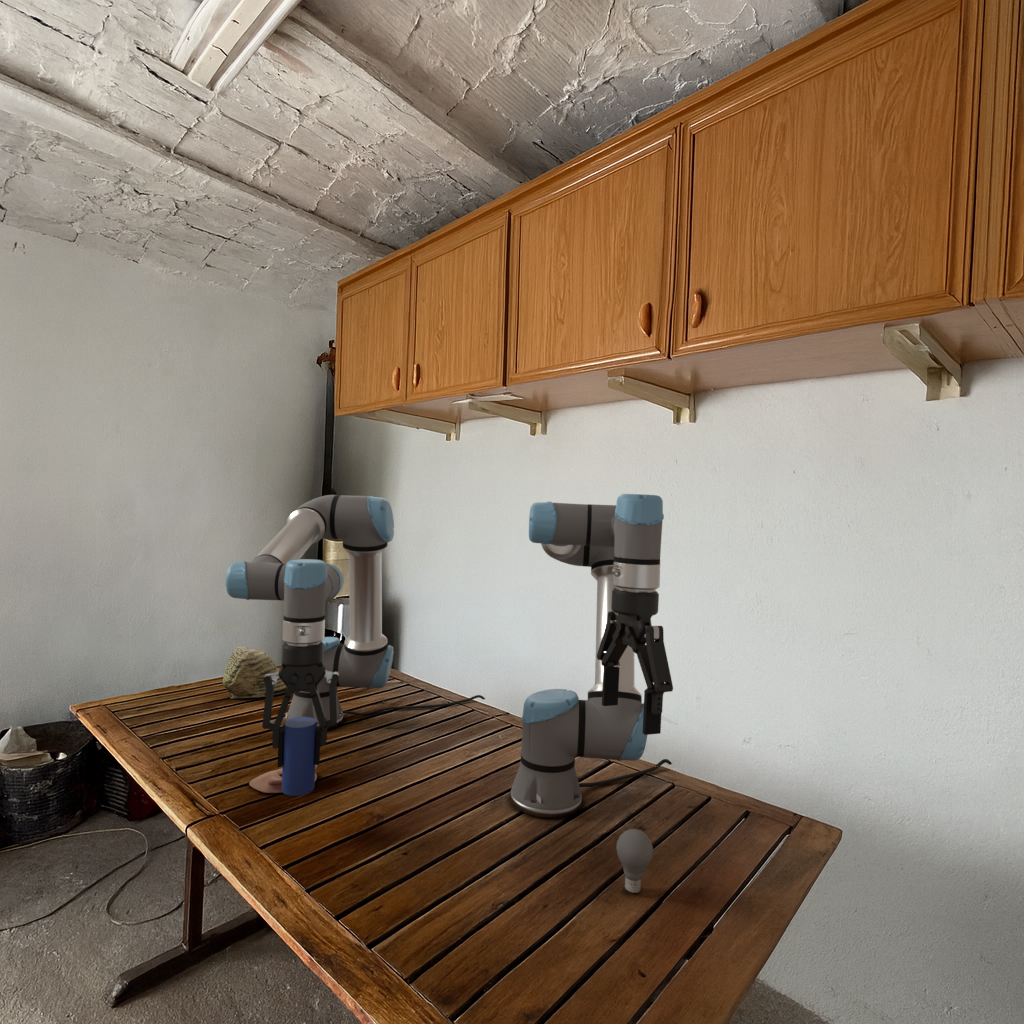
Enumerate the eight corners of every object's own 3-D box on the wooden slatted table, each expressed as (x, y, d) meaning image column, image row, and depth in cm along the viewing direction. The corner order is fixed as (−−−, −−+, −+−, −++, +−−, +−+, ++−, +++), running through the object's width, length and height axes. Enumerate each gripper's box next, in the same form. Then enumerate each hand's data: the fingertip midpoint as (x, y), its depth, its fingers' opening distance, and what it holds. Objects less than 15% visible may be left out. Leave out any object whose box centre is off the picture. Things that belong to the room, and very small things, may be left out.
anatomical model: (241, 770, 135) (272, 750, 146) (240, 789, 135) (271, 767, 146) (297, 779, 132) (324, 757, 144) (297, 798, 132) (324, 775, 144)
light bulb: (610, 879, 108) (613, 822, 108) (644, 879, 109) (647, 822, 109) (619, 902, 102) (622, 840, 102) (655, 901, 103) (658, 840, 103)
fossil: (218, 695, 195) (220, 647, 195) (278, 685, 208) (279, 640, 207) (228, 703, 189) (230, 653, 188) (289, 692, 201) (290, 645, 201)
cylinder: (277, 786, 121) (280, 719, 121) (308, 779, 124) (311, 714, 124) (286, 798, 116) (289, 729, 116) (318, 791, 120) (321, 724, 119)
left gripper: (246, 647, 114) (242, 774, 114) (355, 645, 118) (350, 768, 119) (253, 637, 121) (248, 757, 122) (355, 636, 126) (350, 752, 126)
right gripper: (581, 578, 114) (576, 696, 114) (656, 601, 90) (649, 749, 90) (618, 578, 116) (613, 693, 116) (701, 601, 92) (694, 745, 93)
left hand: (299, 762), depth 120 cm, fingers closed on cylinder, 6 cm apart
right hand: (629, 718), depth 103 cm, fingers open, 13 cm apart
